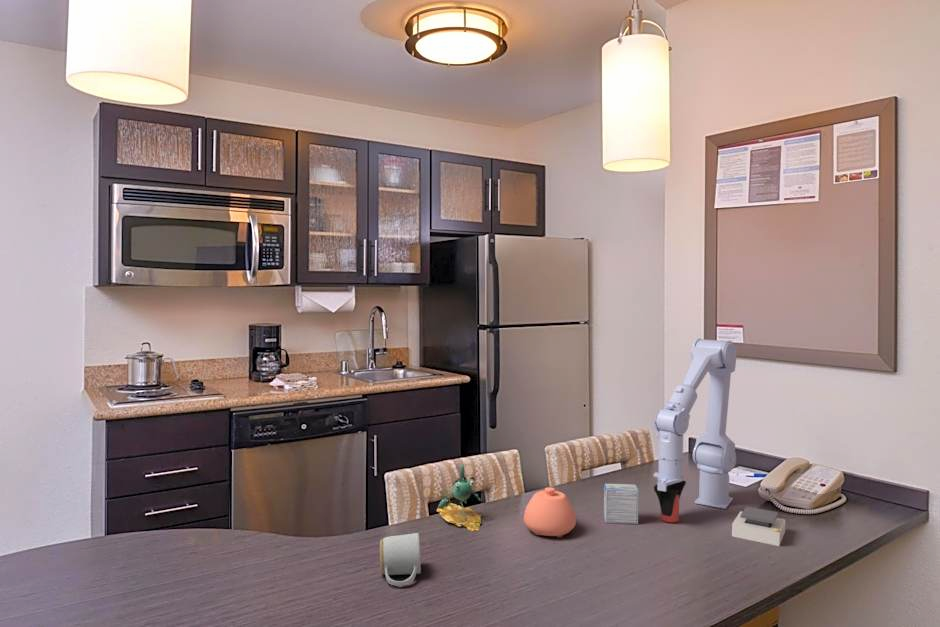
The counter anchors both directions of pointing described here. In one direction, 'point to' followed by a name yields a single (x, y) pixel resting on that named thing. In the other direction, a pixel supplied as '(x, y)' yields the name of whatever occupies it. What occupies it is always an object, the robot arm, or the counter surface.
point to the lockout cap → (675, 512)
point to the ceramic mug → (400, 557)
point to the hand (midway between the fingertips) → (669, 512)
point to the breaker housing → (759, 531)
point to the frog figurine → (456, 512)
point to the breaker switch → (759, 516)
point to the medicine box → (621, 503)
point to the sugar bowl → (549, 513)
